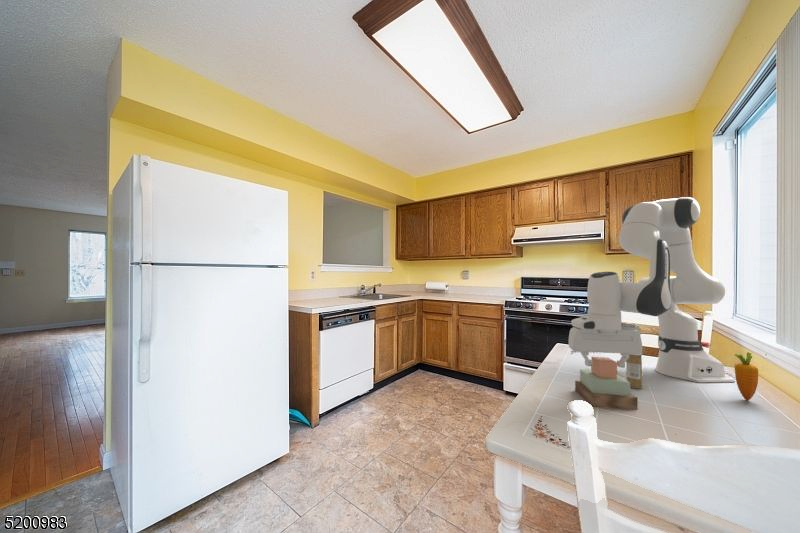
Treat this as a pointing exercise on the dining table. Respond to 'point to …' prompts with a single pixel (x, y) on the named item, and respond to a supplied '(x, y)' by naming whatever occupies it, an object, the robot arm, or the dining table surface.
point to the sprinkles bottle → (634, 370)
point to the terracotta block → (604, 367)
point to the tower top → (605, 384)
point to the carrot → (746, 376)
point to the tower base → (606, 398)
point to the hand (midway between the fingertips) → (604, 366)
